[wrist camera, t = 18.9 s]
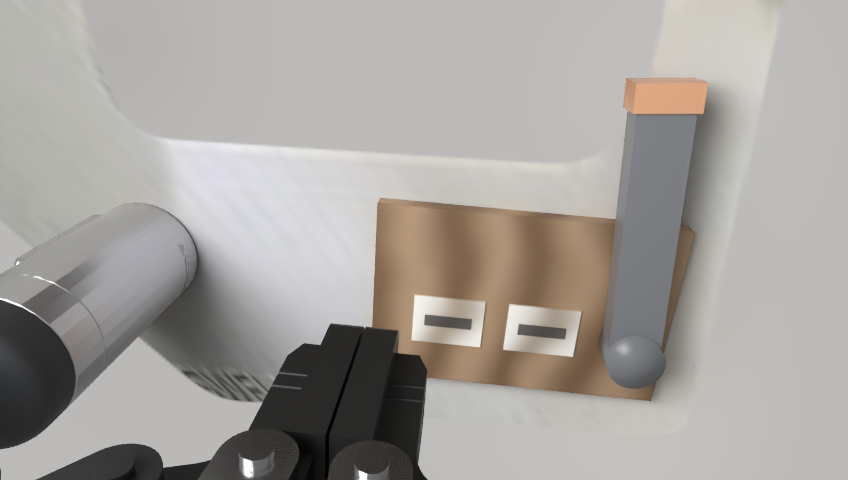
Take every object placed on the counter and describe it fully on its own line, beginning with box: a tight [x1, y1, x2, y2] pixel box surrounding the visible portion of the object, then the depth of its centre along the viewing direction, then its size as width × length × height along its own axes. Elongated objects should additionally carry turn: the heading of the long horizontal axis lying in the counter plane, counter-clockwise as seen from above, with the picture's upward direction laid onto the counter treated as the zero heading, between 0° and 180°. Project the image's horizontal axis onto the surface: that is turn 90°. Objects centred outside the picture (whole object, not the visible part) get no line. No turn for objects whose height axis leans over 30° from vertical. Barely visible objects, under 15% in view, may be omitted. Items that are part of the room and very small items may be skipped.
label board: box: [372, 198, 695, 401], centre depth 50 cm, size 25×16×2 cm, turn 86°
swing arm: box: [598, 78, 708, 389], centre depth 44 cm, size 24×5×4 cm, turn 1°
